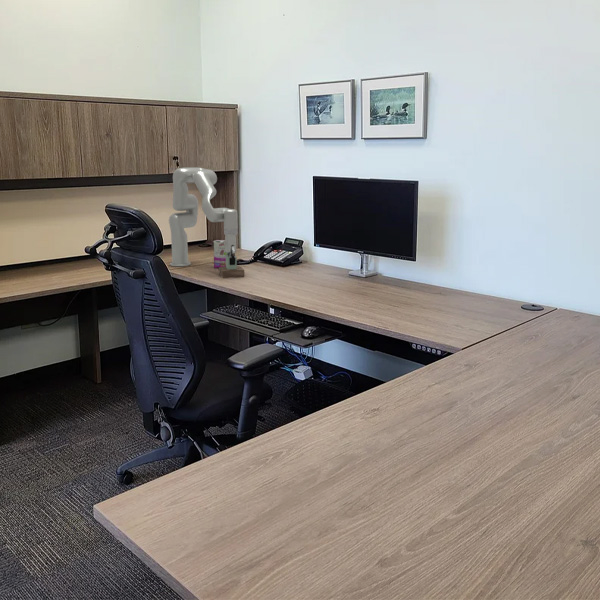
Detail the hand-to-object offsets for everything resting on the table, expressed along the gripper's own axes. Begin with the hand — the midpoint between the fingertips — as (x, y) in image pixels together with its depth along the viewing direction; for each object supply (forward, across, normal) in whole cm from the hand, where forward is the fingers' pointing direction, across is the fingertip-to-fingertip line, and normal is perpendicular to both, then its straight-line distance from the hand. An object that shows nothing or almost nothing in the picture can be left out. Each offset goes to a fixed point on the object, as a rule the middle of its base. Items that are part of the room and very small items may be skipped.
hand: (231, 263), depth 350 cm
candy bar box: (+7, -23, 0) cm, 24 cm away
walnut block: (+7, 0, 0) cm, 7 cm away
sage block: (+3, 0, 0) cm, 3 cm away
